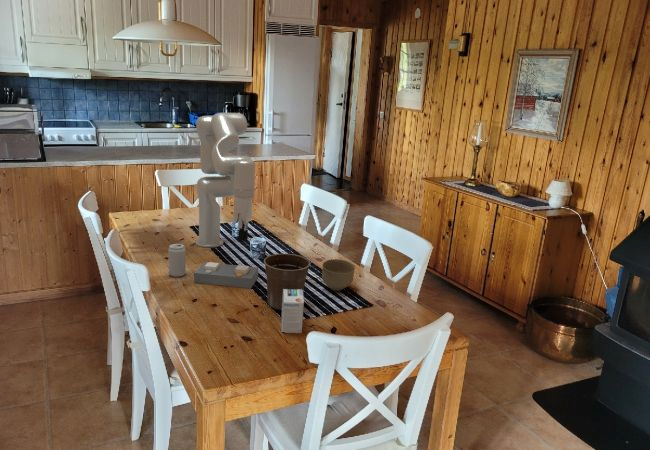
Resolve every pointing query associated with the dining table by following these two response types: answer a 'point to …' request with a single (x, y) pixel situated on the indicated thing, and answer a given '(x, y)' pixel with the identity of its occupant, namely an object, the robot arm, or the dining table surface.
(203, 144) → the robot arm
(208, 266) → the block
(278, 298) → the plant pot
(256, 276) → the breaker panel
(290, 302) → the light bulb box
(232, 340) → the dining table surface
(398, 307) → the dining table surface
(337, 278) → the bowl
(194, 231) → the dining table surface
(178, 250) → the beverage can
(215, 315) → the dining table surface
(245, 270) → the block
